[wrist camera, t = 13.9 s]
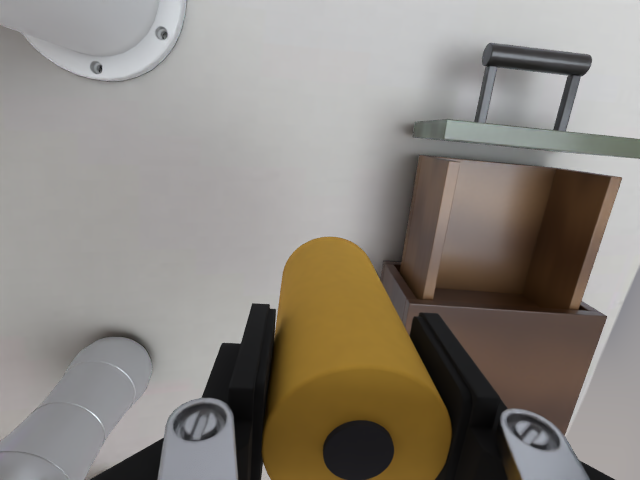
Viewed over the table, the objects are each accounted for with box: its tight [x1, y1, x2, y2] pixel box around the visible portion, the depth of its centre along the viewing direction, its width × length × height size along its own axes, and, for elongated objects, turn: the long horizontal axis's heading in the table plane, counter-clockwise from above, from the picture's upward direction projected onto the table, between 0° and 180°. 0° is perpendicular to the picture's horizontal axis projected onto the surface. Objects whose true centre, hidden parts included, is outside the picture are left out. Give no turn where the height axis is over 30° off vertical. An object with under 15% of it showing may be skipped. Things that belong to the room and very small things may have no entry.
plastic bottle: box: [0, 337, 152, 480], centre depth 25 cm, size 6×7×20 cm
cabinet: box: [380, 261, 607, 436], centre depth 32 cm, size 16×15×9 cm
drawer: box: [400, 43, 640, 310], centre depth 27 cm, size 20×13×7 cm
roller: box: [262, 237, 452, 480], centre depth 13 cm, size 4×4×10 cm
